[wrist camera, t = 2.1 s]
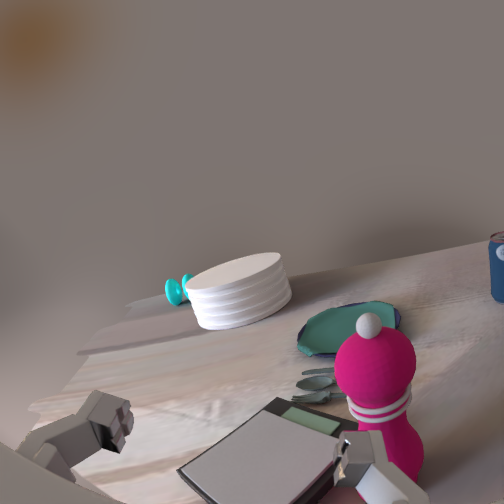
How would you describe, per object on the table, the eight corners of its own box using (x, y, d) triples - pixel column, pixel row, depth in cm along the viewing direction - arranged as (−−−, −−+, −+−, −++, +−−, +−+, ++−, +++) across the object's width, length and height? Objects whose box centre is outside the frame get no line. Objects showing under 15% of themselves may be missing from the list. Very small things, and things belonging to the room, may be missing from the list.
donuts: (178, 300, 120) (169, 276, 119) (202, 294, 119) (193, 269, 117) (170, 310, 110) (160, 284, 109) (196, 303, 109) (186, 277, 108)
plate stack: (179, 329, 88) (165, 292, 86) (234, 291, 110) (223, 260, 109) (260, 329, 72) (245, 284, 70) (307, 283, 94) (296, 246, 92)
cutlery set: (399, 303, 61) (397, 293, 61) (407, 397, 34) (406, 384, 34) (310, 318, 70) (308, 309, 69) (268, 408, 43) (264, 397, 42)
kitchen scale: (266, 548, 19) (258, 539, 19) (181, 478, 32) (173, 467, 31) (374, 436, 30) (373, 423, 30) (280, 405, 43) (275, 393, 42)
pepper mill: (347, 468, 27) (309, 309, 24) (410, 448, 26) (397, 282, 23) (357, 519, 20) (321, 357, 17) (430, 494, 19) (438, 317, 16)
